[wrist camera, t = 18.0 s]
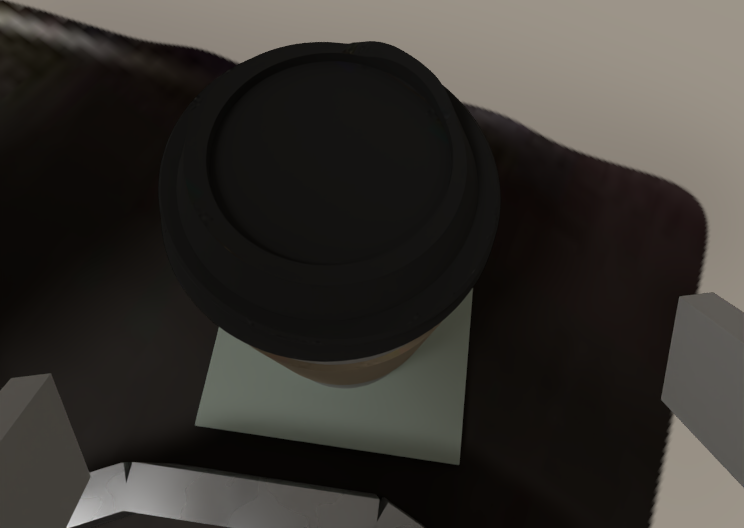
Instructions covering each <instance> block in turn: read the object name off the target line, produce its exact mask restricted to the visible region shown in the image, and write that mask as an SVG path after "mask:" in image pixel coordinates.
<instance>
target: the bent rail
mask: <svg viewBox="0 0 744 528" xmlns="http://www.w3.org/2000/svg"><path fill="white" fill-rule="evenodd" d="M90 476H91V478H90V480H89V482H88V484H87V486H86V488H85V490H84V492H83V494H82V496H81V498H80V500H79V502H78V504H77V507H76V509H75V511H74V513H73V515H72V517H71V519H70V521H69V523H68V525H67V527H66V528H93V527H96V526H99V525H103V524H106V523H109V522H112V521H115V520H118V519H121V518H124V517H128V516H131V515H134V514H137V513H141V514H148V515H154V516H160V517H167V518H173V519H180V520H186V521H193V522H199V523H206V524H212V525H218V526H225V527H231V528H427V527H426V526H424V525H423V524H421V523H420V522H419V521H417V520H416V519H414V518H413V517H412V516H410V515H409V514H407V513H406V512H404V511H403V510H402V509H400V508H399V507H397V506H396V505H394V504H393V503H392V502H390V501H389V500H387V499H386V498H384V497H382V499H381V500H380V499H379V498H378V496H377V495H376V494H373V493H367V492H360V491H354V490H347V489H340V488H334V487H327V486H321V485H314V484H308V483H301V482H294V481H288V480H281V479H275V478H268V477H261V476H255V475H248V474H242V473H235V472H228V471H222V470H215V469H209V468H202V467H196V466H189V465H182V464H174V463H148V462H132V463H131V462H122V463H119V464H116V465H113V466H109V467H106V468H103V469H100V470H96V471H93V472H90ZM379 500H380V502H379Z"/></svg>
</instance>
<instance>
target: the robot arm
mask: <svg viewBox="0 0 744 528" xmlns="http://www.w3.org/2000/svg"><path fill="white" fill-rule="evenodd" d="M661 400H662V401H663V402H664V403H665V405H666V406H667V407H668V408H669V409H670V410H671V411H672V412H673V413H674V414H675V415H676V416H677V417H678V418H679V419H680V420H681V422H683V424H684V425H685V426H686V427H687V428H688V429H689V430H690V431H691V432H692V433H693V434H694V435H695V436H696V437H697V438H698V440H700V442H701V443H702V444H703V445H704V446H705V447H706V448H707V449H708V450H709V451H710V452H711V453H712V454H713V455H714V457H715V458H716V459H717V460H718V461H719V462H720V463H721V464H722V465H723V466H724V467H725V468H726V469H727V470H728V471H729V472H730V473H731V474H732V476H733V477H734V478H735V479H736V480H737V481H738V482H739V483H740V484H741V485H742V486H743V487H744V313H743V312H742V311H740V310H739V309H738V308H736V307H735V306H733V305H731V304H730V303H728V302H727V301H725V300H724V299H722V298H721V297H719V296H718V295H716V294H715V293H703V294H695V295H687V296H679V301H678V307H677V312H676V318H675V323H674V329H673V335H672V340H671V346H670V351H669V357H668V363H667V368H666V374H665V380H664V385H663V391H662V396H661ZM90 478H91V476H90V473H89V471H88V468H87V466H86V463H85V460H84V458H83V455H82V453H81V450H80V447H79V445H78V442H77V440H76V437H75V434H74V432H73V429H72V427H71V424H70V422H69V419H68V416H67V414H66V411H65V409H64V406H63V403H62V401H61V398H60V396H59V393H58V391H57V388H56V385H55V383H54V380H53V378H52V375H51V373H49V374H41V375H33V376H25V377H17V378H11V379H10V380H9V381H8V382H7V384H6V385H5V386H4V387H3V388H2V389H1V391H0V528H66V527H67V525H68V523H69V521H70V519H71V517H72V515H73V513H74V511H75V509H76V507H77V504H78V502H79V500H80V498H81V496H82V494H83V492H84V490H85V488H86V486H87V484H88V482H89V480H90Z"/></svg>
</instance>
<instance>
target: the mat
mask: <svg viewBox="0 0 744 528" xmlns="http://www.w3.org/2000/svg"><path fill="white" fill-rule="evenodd" d="M472 294H473V288H472V289H471V291H470V292H469V294H468V295H467V296H466V297H465V299H464V300H463V301H462V302H461V303H460V305H459V306H458V307H457V308H456V309H455V310H454V311H453V312H452V313H451V314H450V315H449V316H448V317H446V318H445V319H444V320H443V321H442V322H441V323H440V325H439V326H438V327H437V328H436V329H435V330H434V331H433V332H432V333H431V335H430V336H429V337H428V338H427V339H426V340H425V341H424V342H423V343H422V344H421V346H420V347H419V348H418V349H417V350H416V351H415V352H414V353H413V354H412V355H411V356H410V357H409V359H408V360H406V361H405V362H404V363H403V364H402V365H401V366H399V367H398V368H396V369H395V370H393V371H392V372H390V373H389V374H388V375H386V376H385V377H383V378H382V379H380V380H378V381H376V382H374V383H372V384H369V385H366V386H362V387H357V388H348V389H344V388H333V387H328V386H325V385H321V384H319V383H316V382H314V381H312V380H310V379H307V378H305V377H303V376H300V375H298V374H297V373H295V372H293V371H291V370H289V369H288V368H286V367H284V366H283V365H281V364H279V363H277V362H276V361H274V360H272V359H271V358H269V357H267V356H266V355H264V354H262V353H260V352H259V351H257V350H256V349H254V348H252V347H251V346H250V345H248V344H246V343H244V342H242V341H240V340H239V339H237V338H235V337H233V336H232V335H230V334H229V333H227V332H225V331H224V330H223V329H221V328H220V327H219V330H218V334H217V338H216V342H215V346H214V350H213V354H212V358H211V362H210V366H209V370H208V374H207V378H206V382H205V386H204V390H203V394H202V398H201V402H200V406H199V410H198V414H197V418H196V422H195V426H200V427H207V428H214V429H220V430H227V431H234V432H240V433H247V434H254V435H260V436H267V437H274V438H280V439H287V440H294V441H301V442H307V443H314V444H321V445H327V446H334V447H341V448H347V449H354V450H361V451H367V452H374V453H381V454H388V455H394V456H401V457H408V458H414V459H421V460H428V461H434V462H441V463H448V464H454V465H459V463H460V450H461V437H462V424H463V411H464V398H465V385H466V372H467V359H468V346H469V333H470V320H471V307H472Z"/></svg>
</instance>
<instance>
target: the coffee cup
mask: <svg viewBox="0 0 744 528" xmlns="http://www.w3.org/2000/svg"><path fill="white" fill-rule="evenodd" d="M158 195H159V207H160V213H161V226H162V234H163V240H164V245H165V249H166V252H167V256H168V259H169V261H170V264H171V266H172V269H173V271H174V273H175V275H176V277H177V279H178V281H179V283H180V284H181V286H182V287H183V289H184V291H185V292H186V293H187V295H188V296H189V298H190V299H191V300H192V301H193V303H194V304H195V305H196V306H197V307H198V308H199V309H200V310H201V311H202V312H203V313H204V314H205V315H206V316H207V317H208V318H209V319H210V320H211V321H212V322H213V323H215V324H216V325H217V326H219V327H220V328H221V329H223V330H224V331H225V332H227V333H229V334H230V335H232V336H233V337H235V338H237V339H239V340H240V341H242V342H244V343H246V344H248V345H250V346H251V347H252V348H254V349H256V350H257V351H259V352H260V353H262V354H264V355H266V356H267V357H269V358H271V359H272V360H274V361H276V362H277V363H279V364H281V365H283V366H284V367H286V368H288V369H289V370H291V371H293V372H295V373H297V374H298V375H300V376H303V377H305V378H307V379H310V380H312V381H314V382H316V383H319V384H321V385H325V386H328V387H333V388H344V389H348V388H357V387H362V386H366V385H369V384H372V383H374V382H376V381H378V380H380V379H382V378H383V377H385V376H386V375H388V374H389V373H390V372H392V371H393V370H395V369H396V368H398V367H399V366H401V365H402V364H403V363H404V362H405V361H406V360H408V359H409V357H410V356H411V355H412V354H413V353H414V352H415V351H416V350H417V349H418V348H419V347H420V346H421V344H422V343H423V342H424V341H425V340H426V339H427V338H428V337H429V336H430V335H431V333H432V332H433V331H434V330H435V329H436V328H437V327H438V326H439V325H440V323H441V322H442V321H443V320H444V319H445V318H446V317H448V316H449V315H450V314H451V313H452V312H453V311H454V310H455V309H456V308H457V307H458V306H459V305H460V303H461V302H462V301H463V300H464V299H465V297H466V296H467V295H468V294H469V292H470V291H471V289H472V288H473V287H474V285H475V283H476V282H477V280H478V278H479V277H480V275H481V273H482V271H483V269H484V267H485V265H486V262H487V260H488V258H489V255H490V252H491V249H492V245H493V242H494V239H495V235H496V232H497V228H498V223H499V216H500V204H501V195H500V183H499V176H498V171H497V167H496V163H495V160H494V156H493V154H492V151H491V148H490V146H489V144H488V141H487V139H486V137H485V135H484V134H483V132H482V130H481V128H480V127H479V125H478V124H477V122H476V120H475V119H474V118H473V116H472V115H471V114H470V112H469V111H468V110H467V109H466V107H465V106H464V105H463V104H462V103H461V102H460V101H459V100H458V99H457V98H456V97H455V96H454V95H453V94H452V93H451V92H450V91H449V90H448V89H447V88H445V87H444V86H443V85H442V84H441V82H440V81H439V80H438V78H437V77H436V76H435V75H434V74H433V73H432V72H431V71H430V70H429V69H428V68H427V67H425V66H424V65H423V64H422V63H421V62H419V61H418V60H416V59H415V58H413V57H412V56H411V55H409V54H407V53H405V52H404V51H402V50H400V49H399V48H397V47H395V46H392V45H389V44H385V43H381V42H375V41H369V42H357V43H351V44H343V43H332V42H313V43H302V44H295V45H289V46H285V47H281V48H277V49H274V50H271V51H268V52H265V53H263V54H260V55H258V56H256V57H254V58H252V59H249V60H247V61H245V62H242V63H240V64H238V65H237V66H235V67H233V68H231V69H230V70H228V71H227V72H225V73H224V74H222V75H221V76H219V77H218V78H217V79H215V80H214V81H213V82H211V83H210V84H209V85H208V86H207V87H206V88H205V89H204V90H202V91H201V92H200V93H199V94H198V96H197V97H196V98H195V99H194V100H193V101H192V102H191V103H190V104H189V106H188V107H187V108H186V110H185V111H184V112H183V114H182V115H181V117H180V118H179V120H178V121H177V123H176V125H175V127H174V129H173V131H172V133H171V135H170V137H169V139H168V142H167V144H166V147H165V150H164V154H163V157H162V161H161V166H160V173H159V184H158Z"/></svg>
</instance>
